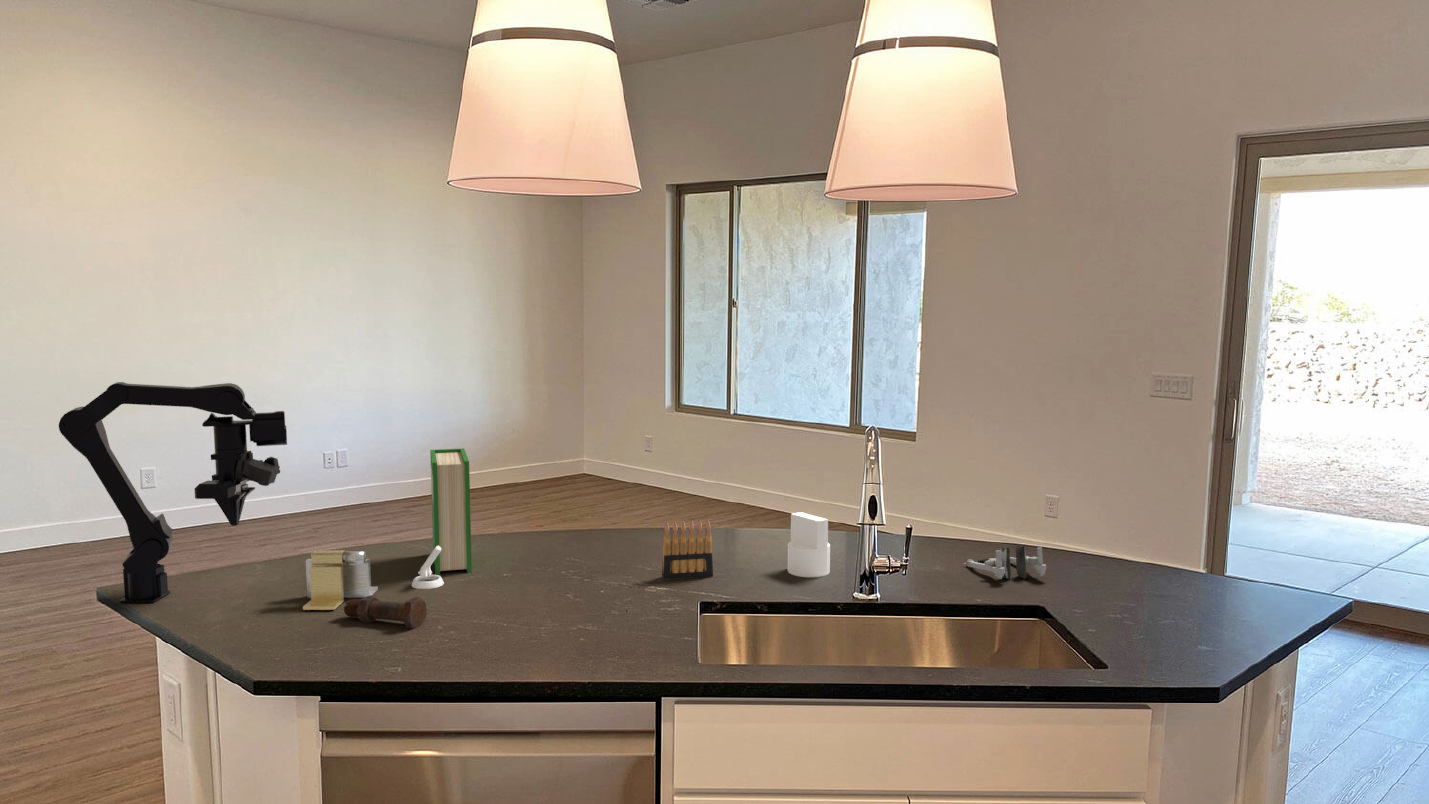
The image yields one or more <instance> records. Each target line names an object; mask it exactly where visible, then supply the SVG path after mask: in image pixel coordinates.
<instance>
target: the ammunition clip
mask: <svg viewBox="0 0 1429 804" xmlns="http://www.w3.org/2000/svg"><path fill="white" fill-rule="evenodd" d="M669 525H670V524H669V522H668V521H666V523H665V524H664V530H663V541H662V565H661V567H662V569H661V577H662V580H664V581H665V580H679V579H682V580H683V579H695V578H696V579H697V578H712V577H714V565H713V563H714V562H713V538H712V530H711V529H712V526H711V523H710V520H709V519H708V520H706V523H705V528H704V529H705V532H704V531H703V525H702V521H701V520H698V523H697V528H696V538H695V525H694V521H693V520H690V522H689V526H688V527H689V528H688V536H687V527H686V523H685V521H684V520H683V521H682V522H681V527H680V535H679V529H678V524H677V521H674V522H673V525H672V530H671V531H672V533H671V532H670V526H669ZM671 534H672V536H671ZM679 537H680V538H679ZM687 537H688V538H687Z"/></svg>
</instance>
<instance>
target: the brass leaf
mask: <svg viewBox="0 0 1429 804" xmlns="http://www.w3.org/2000/svg"><path fill="white" fill-rule="evenodd" d="M346 552H347V549H339V550H338V549H315V550H313V551H312V552H311V553H310V557H311V558H310V559H311V562H312V565H343V564H344V563H346V562H345V560H343V555H346ZM310 585H311V598H310V600H309V601H308V602H307V603H306V604H304V605H303V606H302V610H303V611H305V610H307V611H311V610H315V611H317V610H318V611H325V610H326V611H330V610H332V611H333V610H336V609H337V608H338V607H339V606H340V605H341V604H343V602H344V601H345V599H344V594H343V568H342V566H311V567H310Z"/></svg>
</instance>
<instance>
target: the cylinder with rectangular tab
mask: <svg viewBox="0 0 1429 804" xmlns="http://www.w3.org/2000/svg"><path fill="white" fill-rule="evenodd" d="M828 536H829V519H827V518H825V517H822V516H817V515H813V514H809V513H806V512H803V511H800V512H799V511H798V512H793V513H790V541H788V543H787V573H788V574H790V575H792V576H795V577H801V578H819V577H825V576H828V575H829V574H830V571H831V569H830V568H831V565H830V564H831V563H830V561H831V558H830V557H831V544H830V543H829V541H828V539H829V537H828Z"/></svg>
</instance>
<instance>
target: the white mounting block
mask: <svg viewBox="0 0 1429 804" xmlns="http://www.w3.org/2000/svg"><path fill="white" fill-rule="evenodd" d="M343 560H345V562H346V563H344V564H343V565H312V562H311V558H307V559H306V560H305V573H306V575H305V577H306V598H307V599H311V585H310V567H311V566H342V568H343V594H344V598H347V599H348V598H350V599H351V598H352V599H357V598H360V599H362V598H364V597H367V596H370V595H371V596H373V595H374V594H375V593H376V592H377V591H378V590H379V586H372V577H371V575H372V574H371V559H370V558H367V553H366V551H360V550H358V551H357V550H356V551H355V550H354V551H347V550H346V555H343Z"/></svg>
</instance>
